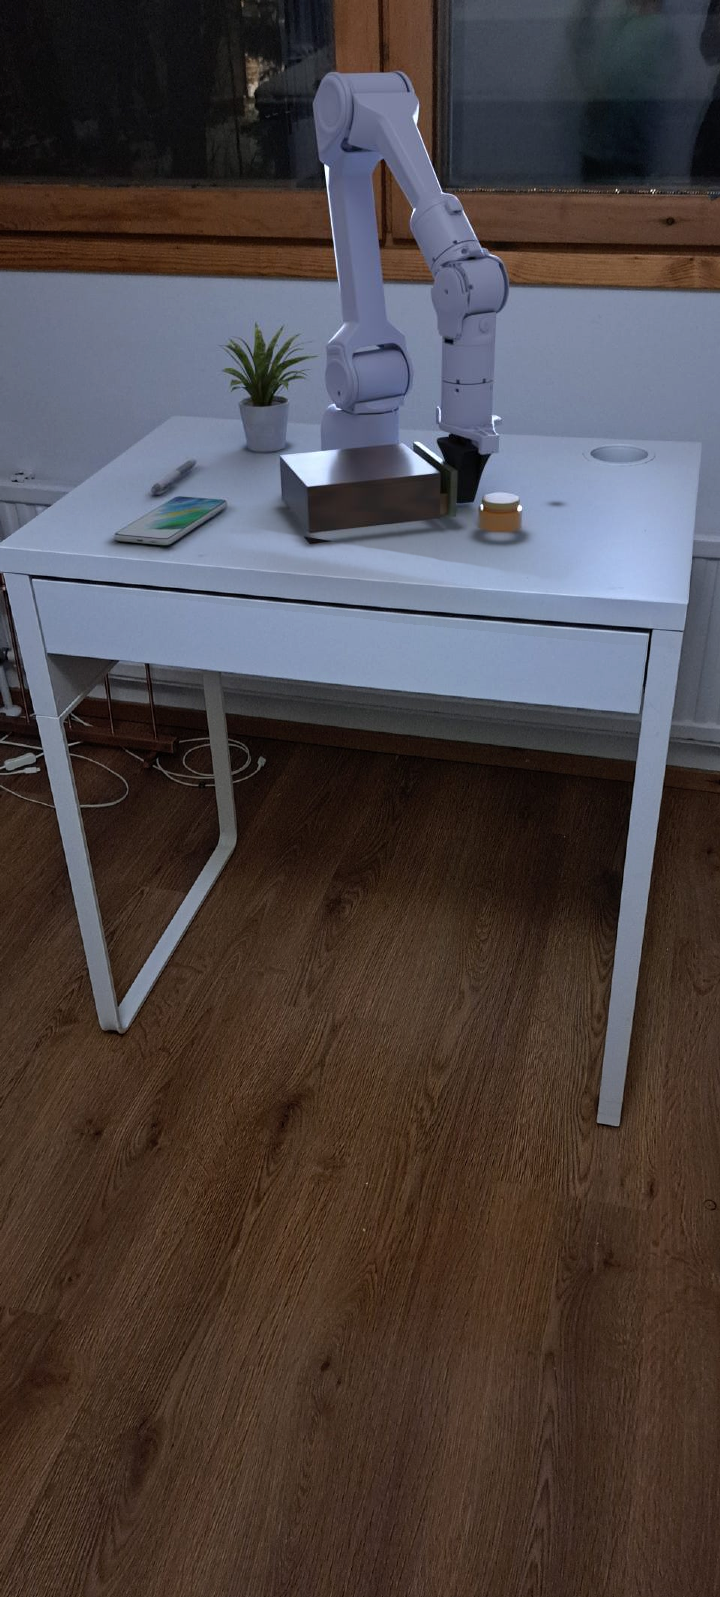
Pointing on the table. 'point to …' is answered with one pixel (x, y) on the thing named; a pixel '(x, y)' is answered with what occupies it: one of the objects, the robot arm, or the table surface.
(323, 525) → the cabinet
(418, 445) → the drawer
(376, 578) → the table surface
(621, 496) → the table surface
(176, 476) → the pen
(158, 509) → the smartphone
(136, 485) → the table surface
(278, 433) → the house plant
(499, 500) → the jar
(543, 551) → the table surface
